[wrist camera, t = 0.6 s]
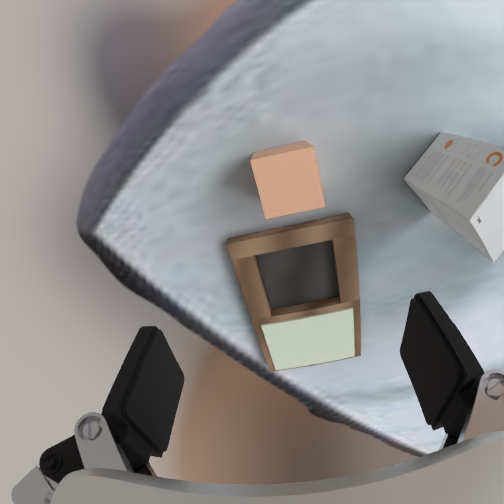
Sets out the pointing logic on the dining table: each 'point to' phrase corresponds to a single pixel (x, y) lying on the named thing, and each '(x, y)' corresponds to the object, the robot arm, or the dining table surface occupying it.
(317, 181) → the terracotta cube
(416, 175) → the small box
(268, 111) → the dining table surface
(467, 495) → the robot arm
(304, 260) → the hole board
